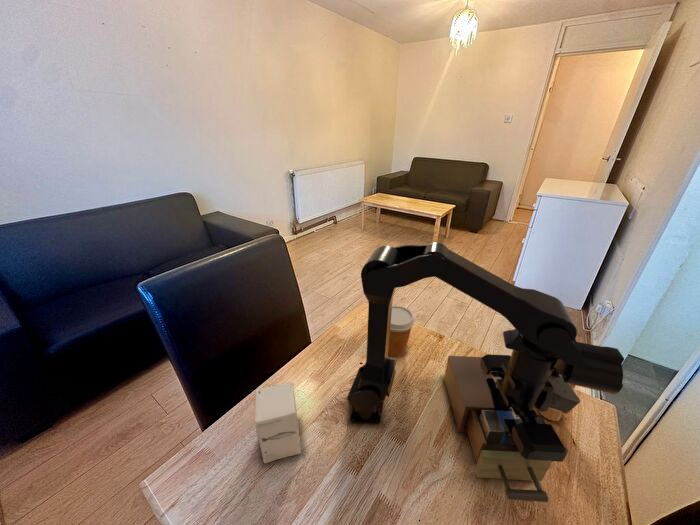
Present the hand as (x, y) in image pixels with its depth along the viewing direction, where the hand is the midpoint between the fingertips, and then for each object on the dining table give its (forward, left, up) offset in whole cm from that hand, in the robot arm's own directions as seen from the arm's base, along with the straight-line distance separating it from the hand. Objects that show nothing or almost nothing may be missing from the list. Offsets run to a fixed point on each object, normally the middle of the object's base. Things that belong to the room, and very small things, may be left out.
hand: (504, 429), depth 53 cm
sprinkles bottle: (+15, +10, -7) cm, 19 cm away
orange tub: (-18, +28, -7) cm, 34 cm away
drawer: (0, -1, -6) cm, 6 cm away
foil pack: (0, 0, -1) cm, 1 cm away
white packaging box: (-43, 0, -7) cm, 44 cm away
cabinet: (0, +11, -7) cm, 13 cm away
